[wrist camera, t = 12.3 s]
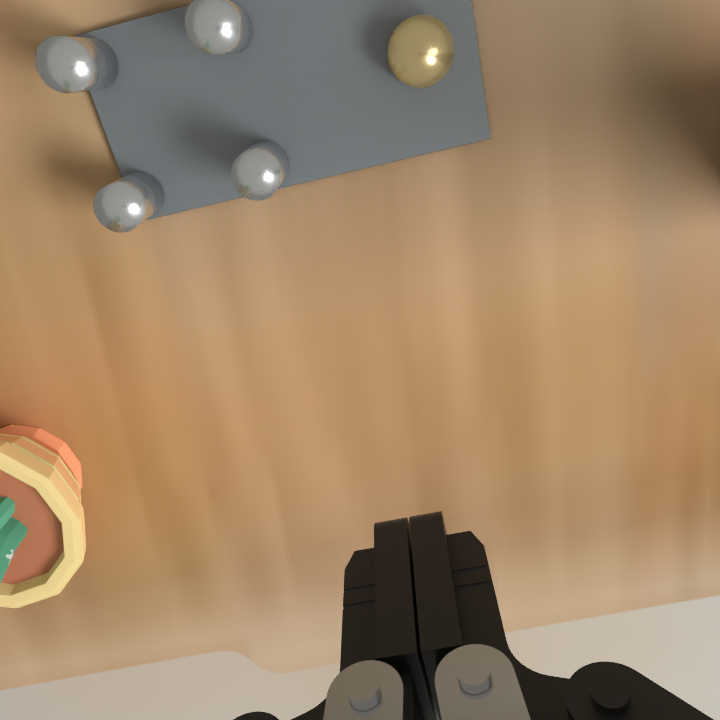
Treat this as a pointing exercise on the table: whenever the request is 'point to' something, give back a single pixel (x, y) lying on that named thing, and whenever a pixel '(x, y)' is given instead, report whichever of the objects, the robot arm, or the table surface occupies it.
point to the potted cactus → (38, 515)
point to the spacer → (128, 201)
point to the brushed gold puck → (420, 51)
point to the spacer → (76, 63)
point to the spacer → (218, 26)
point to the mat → (283, 95)
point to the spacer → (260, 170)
